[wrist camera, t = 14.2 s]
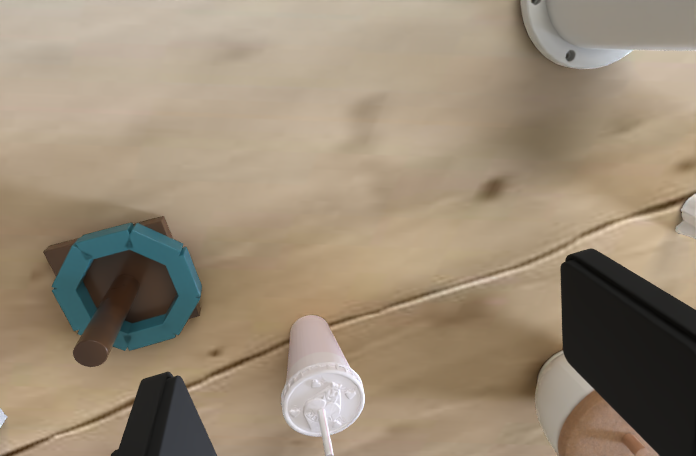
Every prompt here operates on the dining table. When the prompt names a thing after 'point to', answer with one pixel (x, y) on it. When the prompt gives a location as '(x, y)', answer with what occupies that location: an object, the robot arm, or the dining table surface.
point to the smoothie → (319, 383)
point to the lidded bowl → (581, 416)
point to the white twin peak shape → (688, 218)
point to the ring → (145, 243)
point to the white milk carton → (2, 417)
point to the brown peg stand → (119, 294)
